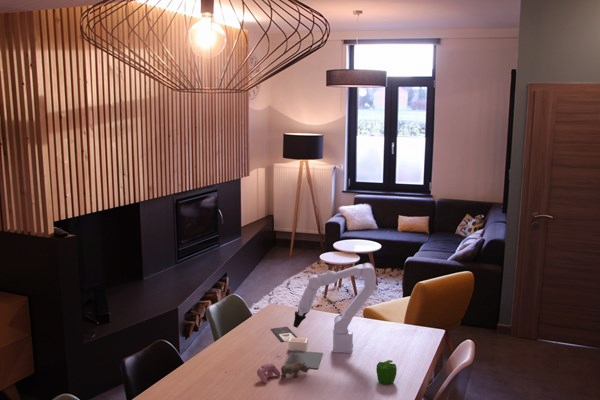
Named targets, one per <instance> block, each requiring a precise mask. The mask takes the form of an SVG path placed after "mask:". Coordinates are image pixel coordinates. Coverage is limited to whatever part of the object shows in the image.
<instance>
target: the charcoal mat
mask: <svg viewBox="0 0 600 400" xmlns="http://www.w3.org/2000/svg"><path fill="white" fill-rule="evenodd" d="M323 354H324V352H318V351H308V350H306V351H295V350H290V353H289V355H288V357H287V359H286V361H285V363H284V365H286V364H290V365H291V364H295V363H301V364H303V363H304V362H305V364H304V365H307V366H306V367H307V368H309V367H310V369H309V370H319V366H320V364H321V361H322V357H323Z"/></svg>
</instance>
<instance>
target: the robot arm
mask: <svg viewBox="0 0 600 400" xmlns="http://www.w3.org/2000/svg"><path fill="white" fill-rule="evenodd" d="M353 276H355V277H357V278H359V279H361V278H362V280H363V282H364V286H363V287H362V288H361V290H360V291H359V292H358V293H357V295H356V296H355V297H354V298H353V299H352V301H351V302H350V303H349V305H348V306H347V307H346V308H345V310H343V311H341V313H340V314H338V315H336V316H335V317H334V321H333V322H334V324H333V330H332V348H331V352H332V353H345V354H352V352H353V348H354V342H353V340H354V338H353V336H354V334H353V333H354V332H352V331H350V330H349V329H348V328H349V325H350V324H351V323H352V319H353V318H354V317H355V316H356V314H357V313H358V311H360V309H361V308H362V307H363V305H364V304H365V303H366V302H367V300H368V299H369V298H370V297H371V296H372V294H374V292H375V290H376V288H377V287H376V286H377V274H376V270H375V267H374V265H373V264H372V263H370V262H365V263H361V264H356V265H355V266H351V267H347V268H346V269H343V270H339V271H335V270H334V271H333V270H331V269H329V270H327V271H326V272H323V273H317V274H313V275H311V276H310V277H309V278H308V284H307V285H306V288H305V289H304V292H303V294H302V296H301V299H300V301H299V303H295V306H296V307H297V310H295V311H294V320H293V327H294V328H296V329H298V328H299V326H300V325H301V323H302V322H303V321H304V320H305V319H306V318H307V314H308V313H309V312H310V311H311V308H312V305H313V303H314V301H315V298H316V296H317V294H318V290H319V289H320V288H321V287H324V286H329V285H331V284H336V283H337V281H338V280H340V279H344V278H349V277H353Z"/></svg>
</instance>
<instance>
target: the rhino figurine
mask: <svg viewBox="0 0 600 400" xmlns="http://www.w3.org/2000/svg"><path fill="white" fill-rule="evenodd" d="M304 364H305V362H304V363H303V364H301V363H295V364H291V365H290V364H286V365H285V364H283V365H282V366H281V368H280V373H281V374H280V380H282V381H284V380H285V378H287V374H289V375H293V377H294V379H298V378H299V376H298V374H299V373H300V372H302V373H306V374H307V373H308V371H309V370H311V369H310V367H309V368H307V367H306V366H307V365H304Z"/></svg>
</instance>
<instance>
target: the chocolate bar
mask: <svg viewBox="0 0 600 400" xmlns="http://www.w3.org/2000/svg"><path fill="white" fill-rule="evenodd" d="M270 331H271V332H273V334H274V335H275V336H276V337H277V339H279V341H280V342H281V343H284V342H289V339H290V337H292V338H299V337H298V336H297V335H296V334H295V333H294V332H293V331H292V330H291V329H290V328H289V326H283V327H274V328H270Z"/></svg>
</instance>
